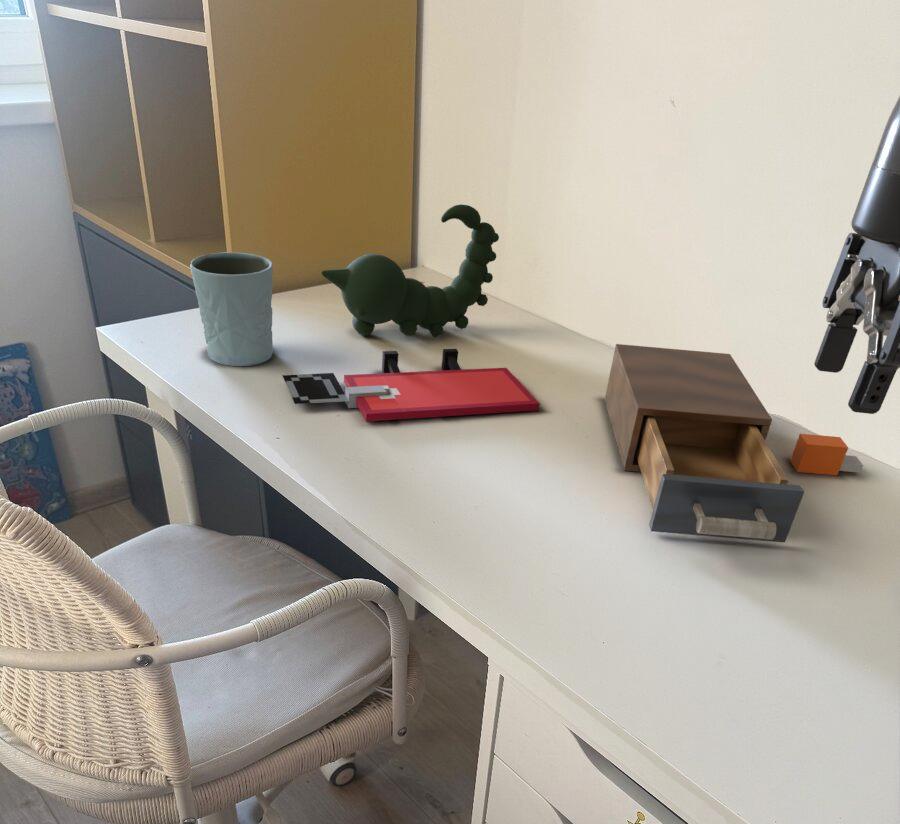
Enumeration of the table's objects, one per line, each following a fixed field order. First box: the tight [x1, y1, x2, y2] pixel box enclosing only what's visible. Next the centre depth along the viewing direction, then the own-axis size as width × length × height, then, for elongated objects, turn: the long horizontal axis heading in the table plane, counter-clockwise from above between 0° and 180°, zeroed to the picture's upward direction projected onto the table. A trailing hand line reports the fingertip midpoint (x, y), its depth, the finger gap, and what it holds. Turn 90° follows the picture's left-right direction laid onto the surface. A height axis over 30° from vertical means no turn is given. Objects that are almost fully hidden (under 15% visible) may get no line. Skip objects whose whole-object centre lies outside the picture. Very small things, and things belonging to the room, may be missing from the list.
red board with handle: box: [282, 348, 541, 422], centre depth 105 cm, size 30×3×15 cm
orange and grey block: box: [789, 433, 864, 476], centre depth 97 cm, size 7×3×4 cm, turn 88°
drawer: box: [635, 415, 805, 543], centre depth 86 cm, size 23×13×6 cm, turn 178°
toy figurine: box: [320, 204, 500, 338], centre depth 119 cm, size 9×19×25 cm
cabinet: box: [604, 343, 773, 473], centre depth 99 cm, size 20×15×8 cm
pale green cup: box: [189, 251, 274, 367], centre depth 109 cm, size 10×10×12 cm
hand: (843, 389), depth 67 cm, fingers open, 8 cm apart
